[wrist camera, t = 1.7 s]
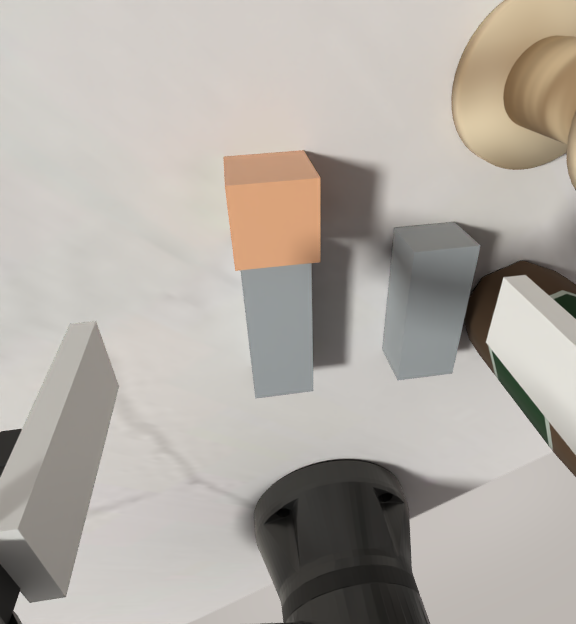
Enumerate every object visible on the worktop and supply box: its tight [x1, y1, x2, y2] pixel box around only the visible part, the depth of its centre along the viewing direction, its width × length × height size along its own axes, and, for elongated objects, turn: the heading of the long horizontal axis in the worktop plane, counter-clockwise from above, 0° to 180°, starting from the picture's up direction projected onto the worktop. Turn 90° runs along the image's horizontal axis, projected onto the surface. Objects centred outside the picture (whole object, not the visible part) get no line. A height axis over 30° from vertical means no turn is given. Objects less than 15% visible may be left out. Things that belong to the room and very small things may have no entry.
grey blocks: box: [241, 222, 480, 398], centre depth 30 cm, size 10×14×4 cm
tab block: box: [224, 150, 320, 271], centre depth 24 cm, size 4×4×5 cm
